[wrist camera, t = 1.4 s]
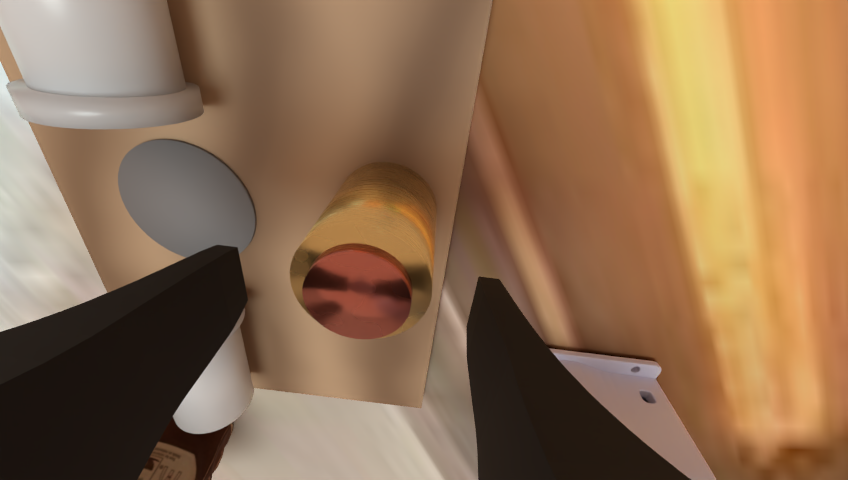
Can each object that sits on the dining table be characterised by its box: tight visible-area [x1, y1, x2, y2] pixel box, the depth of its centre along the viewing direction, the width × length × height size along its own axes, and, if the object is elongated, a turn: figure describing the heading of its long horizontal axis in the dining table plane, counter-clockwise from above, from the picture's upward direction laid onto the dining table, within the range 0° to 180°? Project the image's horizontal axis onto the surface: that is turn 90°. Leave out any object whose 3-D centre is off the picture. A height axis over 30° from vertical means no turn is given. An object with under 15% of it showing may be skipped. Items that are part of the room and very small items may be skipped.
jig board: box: [0, 0, 493, 408], centre depth 16 cm, size 18×26×1 cm
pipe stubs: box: [0, 0, 254, 434], centre depth 14 cm, size 5×23×5 cm, turn 174°
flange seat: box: [118, 139, 257, 258], centre depth 16 cm, size 6×6×1 cm
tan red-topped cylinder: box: [290, 162, 437, 339], centre depth 13 cm, size 4×4×6 cm
